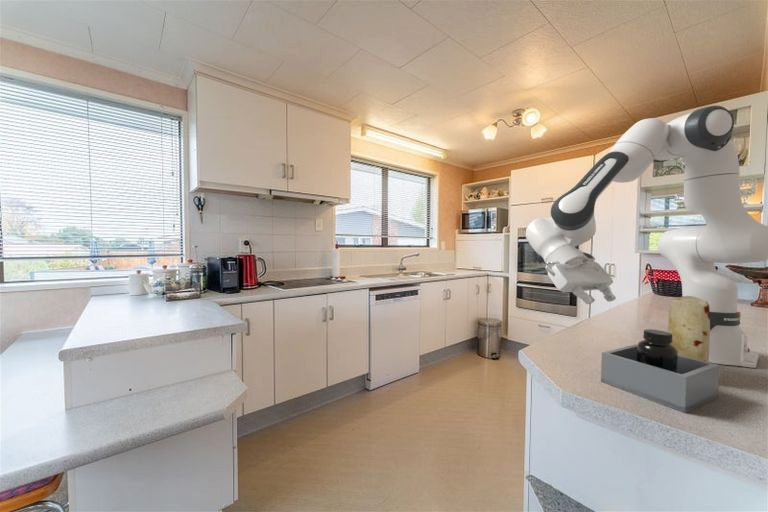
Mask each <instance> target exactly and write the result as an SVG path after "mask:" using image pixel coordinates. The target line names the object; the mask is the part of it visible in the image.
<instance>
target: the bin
mask: <svg viewBox="0 0 768 512" xmlns="http://www.w3.org/2000/svg"><path fill="white" fill-rule="evenodd" d="M637 345H638V344H632V345H628V346H625V347H624V346H623V347H619V348H615V349H612V350H611V349H610V350H607V351H603V352H601V363H600V364H601V367H600V368H601V369H600V382H601V383H604V384H606V385H610V386H612V387H614V388H617V389H620V390H622V391H625V392H627V391H628V392H627V393H631V394H633V395H636V396H639V397H641V398H644V399H647V400H648V401H649V400H650V401H652V402H655V403H657V404H660V405H662V406H664V407H668V408H670V409H674V410H676V411H678V412H681V413H683V414H686V413H688V412H691V411H693V410H695V409H697V408H698V407H700V406H703V405H705V404H707V403H709V402H711V401H714V400H716V399H718V398H719V382H720V381H719V378H720V364H717V363H711V362H705V361H701V360H697V359H693V358H689V357H685V356H681V355H678V361H677V373H675V372H672V371H668V370H665V369H661V368H658V367H654V366H651V365H648V364H644V363H641V362H637Z"/></svg>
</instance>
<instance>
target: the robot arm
mask: <svg viewBox="0 0 768 512" xmlns="http://www.w3.org/2000/svg"><path fill="white" fill-rule="evenodd" d="M734 127H735V118H734V116H733V114H732V112H731V111H729V110H728V109H727V108H726V107H724V106H721V105H711V106H710V105H709V106H705V107H701V108H698V109H696V110H693V111H692V112H689V113H686V114H683V115H680V116H678V117H676V118H674V119H672V120H670V121H669V122H667V123H666V122H665V121H663V120H661V119H658V118H654V117H653V118H652V117H649V118H644V119H641V120H639V121H637V122H635V123H634V124H633V125H632V126H631V127H629V128H628V130H626V131H625V132H624V133H623V134H622V135H621V136H620V137H619V138H618V139H617V141H616V142H615V143H614V144H613V145H612V146H611V148H610V149H609V151H608V152H607V153H606V154H605V155H604V156H603V157H601V158H600V159H599V160H598V161H597V162H596V163H595V164H594V165H593V166H592V167H591V168H590V169H589V170H588V171H587V173H586V174H585V175H584V176H583V177H582V178H581V179H580V180H579V182H577V183H576V184H575V186H573V187H572V188H571V189H570V190H568V191H567V192H565V193H563V194H562V195H561V196H559V197H558V198H557V199H556V200H555V201H554V202H553V203H552V205H551V208H550V217H537V218H535V219H534V220H531V222H530V223H529V224H528V225H527V227H526V229H525V239H526V240H527V243H528V244H529V246H531V248H532V249H533V250H534V251H535V253H536V254H537V255H538V256H540V257H541V258H542V259H543V261H544V263H545V265H544V268H545V270H546V271H547V275H548V277H549V279H550V280H551V282H552V283H553V284H554V286H555V287H556V288H557V290H558V291H560V292H561V293H572V294H573V295H574V296H576V298H579V299H581V300H582V301H583V302H584V303H585V305H591V304H593V303H594V302H595V301H596V300H595V297H593V296H592V295H591V294H588V293H587V292H586V291H597V290H598V291H599V292H601V293H602V295H603V299H605V300H606V301H607V303H609V302H614V301H615V300H617V297H616V295H615V294H614V293H612V290H611V287H610V286H611V285H612V284H613V283H614V280H613V278H612V276H611V275H610V273H608V272H607V270H605V269H604V267H602V266H601V264H599V263H598V262H597V261H595V260H596V258H595V256H594V255H593V254H591V253H588V252H585V251H582V250H580V249H578V248H576V247H578V246H580V245H582V244H584V243H587V242H589V241H590V240H591V239H592V238H594V236H595V234H596V229H597V226H596V223H597V222H596V218H595V207H596V202H597V199H598V198H599V197H600V196H601V194H603V192H604V191H605V190H606V189H608V187H609V186H610V185H611V184H612V182H614V183H631V182H634V181H636V180H637V179H638V178H640V177H641V175H643V174H644V173H645V172H646V171H647V170H648V169H649V167H650V166H651V165H652V164H653V163H662V162H667V161H669V160H674V159H679V158H681V159H682V161H683V163H684V170H683V171H684V172H683V204H684V207H685V208H686V209H687V210H689V211H690V212H692V213H696V214H698V215H701V217H702V218H703V219H704V221H705V224H706V225H700V226H698V225H696V226H683V227H678V228H673V229H670V230H666V231H664V232H662V234H661V235H660V236H659V238H658V239H657V244H656V245H657V250H658V252H659V254H660V255H661V256H662V257H663V258H665V259H666V260H668V261H669V262H670V263H671V265H673V267H674V268H675V269H676V272H677V274H678V275H679V277H680V278H679V279H680V281H681V282H680V283H681V293H682V295H681V297H683V296H693V297H697V298H700V299H702V300H703V301H706V302H707V303H708V304H709V308H710V346H709V363H713V364H717V365H725V366H738V367H746V368H752V369H754V368H755V369H756V368H757V366H758V362H759V359H760V356H759V354H758V353H756V352H752V351H750V350H751V349H750V348H749V347H748V335H746V333H745V332H744V331H743V330H742V327H740V325H741V316H742V313H741V311H738V298H739V297H738V296H739V295H738V294H739V289H738V286H737V284H736V283H735V281H733V280H731V279H729V278H728V277H726V276H723V275H722V274H721V273H719V272H718V270H717V269H716V266H715V264H737V265H738V264H750V263H751V264H752V263H758V262H759V263H760V262H765V261H768V225H765V224H763V223H761V222H760V221H758V220H756V219H755V218H753V217H752V216H751V214H749V212H748V211H747V210H746V207H745V206H744V204H743V201H742V197H741V183H740V181H741V180H740V178H741V177H740V176H741V175H740V173H741V172H740V161H739V155H738V153H737V148H736V146H735V143H734V142H733V141H732V140H731V138H732V135H733V132H734Z"/></svg>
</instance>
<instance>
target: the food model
mask: <svg viewBox="0 0 768 512" xmlns="http://www.w3.org/2000/svg"><path fill="white" fill-rule="evenodd" d="M667 327H668V328H667V329H668V330H667V331H668V333H671V334H672V340H673V342H672V343H671V345H672V346H674V347H675V348H676V349H677V351H678V355H681V356H685V357H689V358H693V359H697V360H701V361H705V362H709V346H710V308H709V304H708V303H707V302H706V301H703V300H702V299H700V298H697V297H693V296H683V297H682V296H676V297H675V298H674V299H673V300H672V301H671V303H670V304H669V308H668V326H667ZM709 363H710V362H709Z"/></svg>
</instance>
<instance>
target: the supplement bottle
mask: <svg viewBox="0 0 768 512" xmlns="http://www.w3.org/2000/svg"><path fill="white" fill-rule="evenodd" d="M642 338H643V339H644V340H641V341H639V342H638V343H637V344H636V345H637V362H641V363H644V364H648V365H651V366H654V367H658V368H661V369H665V370H668V371H672V372H675V373H677V361H678V351H677V349H676V348H675V347H674V346H672V345H671V343H672V342H673V340H672V334H671V333H668V332H667V331H664V330H659V329H651V328H650V329H649V328H648V329H643V335H642Z"/></svg>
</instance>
